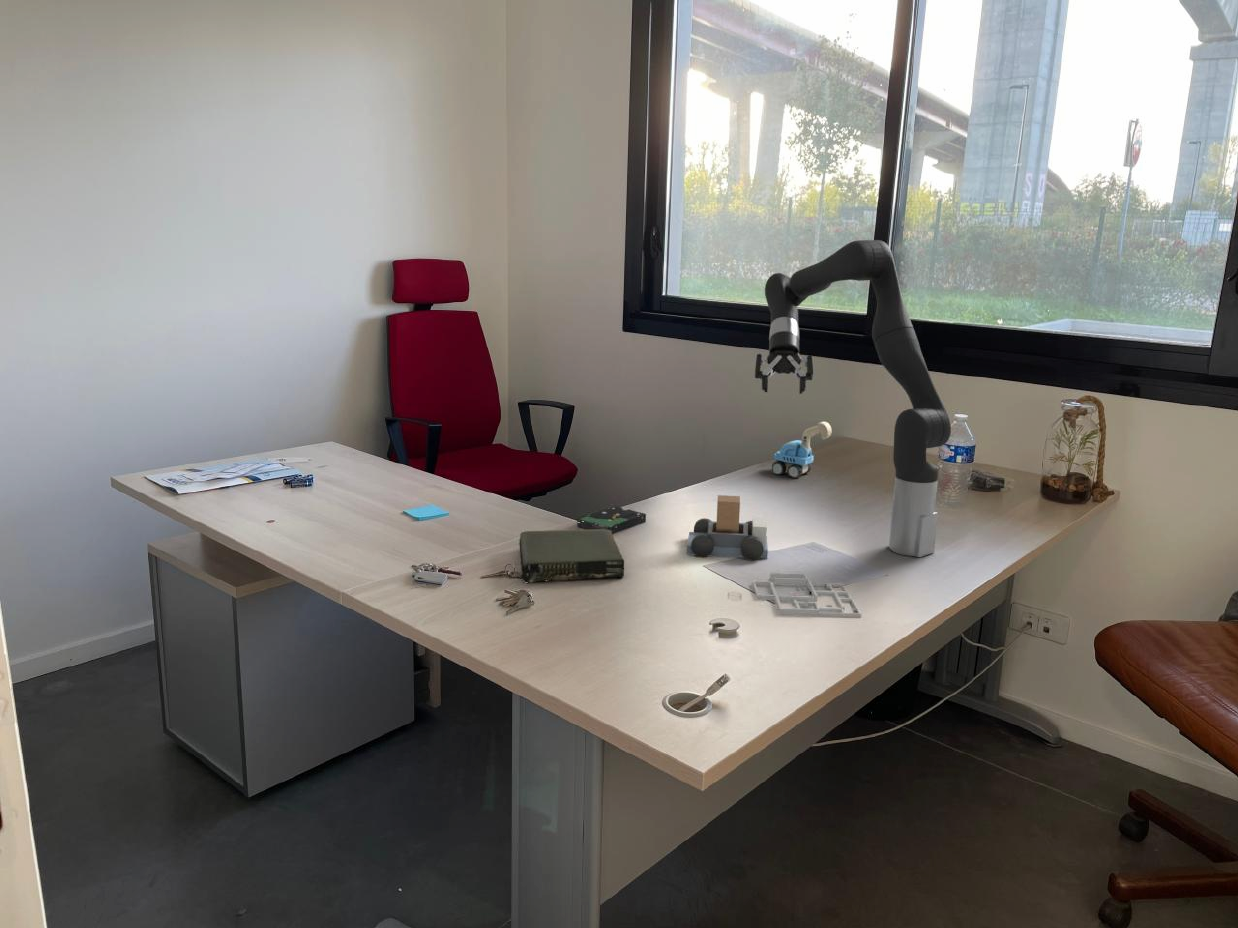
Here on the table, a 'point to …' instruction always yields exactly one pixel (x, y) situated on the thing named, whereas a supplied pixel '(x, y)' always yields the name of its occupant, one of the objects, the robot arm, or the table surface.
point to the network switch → (569, 555)
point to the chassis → (729, 540)
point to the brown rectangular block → (728, 514)
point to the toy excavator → (799, 452)
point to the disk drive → (612, 519)
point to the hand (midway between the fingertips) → (783, 391)
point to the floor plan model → (801, 600)
